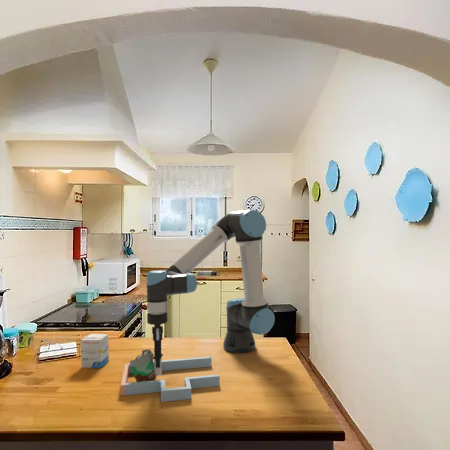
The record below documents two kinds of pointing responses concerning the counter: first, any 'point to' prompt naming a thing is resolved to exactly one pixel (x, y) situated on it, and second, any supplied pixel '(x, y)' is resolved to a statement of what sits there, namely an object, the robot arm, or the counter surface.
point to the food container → (143, 367)
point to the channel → (159, 385)
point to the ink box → (94, 351)
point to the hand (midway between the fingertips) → (158, 374)
